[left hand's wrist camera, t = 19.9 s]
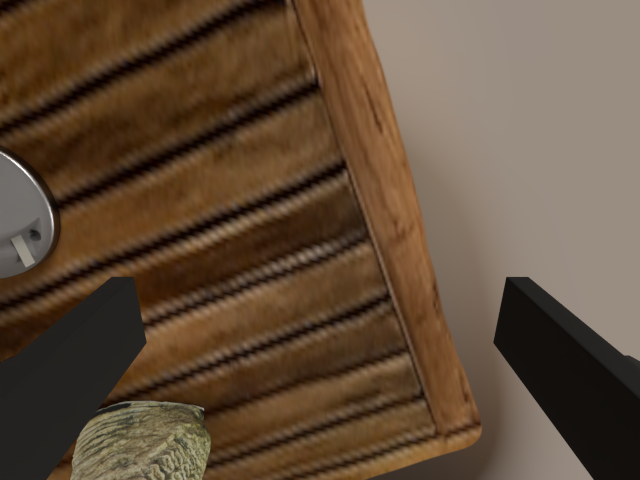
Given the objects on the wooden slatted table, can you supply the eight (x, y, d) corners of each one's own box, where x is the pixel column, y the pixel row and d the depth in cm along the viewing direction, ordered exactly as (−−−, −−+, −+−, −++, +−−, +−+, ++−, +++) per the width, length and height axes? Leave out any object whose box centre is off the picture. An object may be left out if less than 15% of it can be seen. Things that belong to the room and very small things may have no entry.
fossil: (228, 429, 51) (194, 551, 37) (110, 455, 53) (34, 581, 39) (204, 380, 48) (157, 493, 34) (80, 410, 50) (-14, 529, 36)
